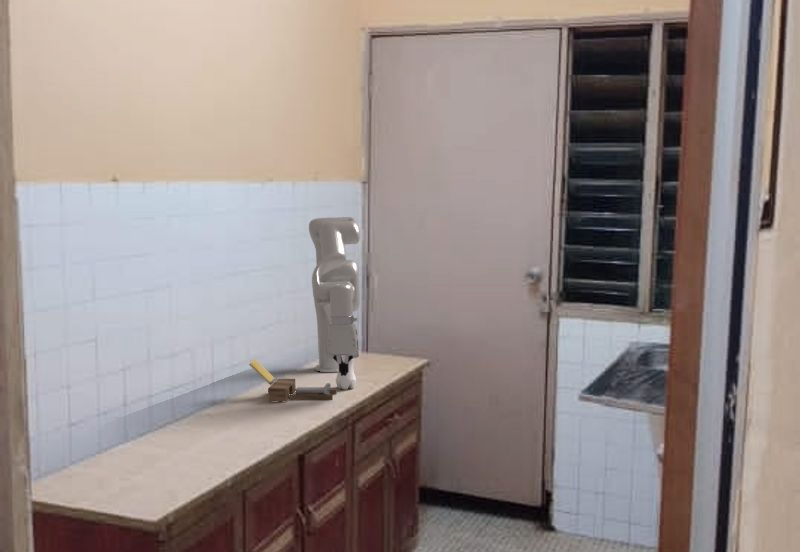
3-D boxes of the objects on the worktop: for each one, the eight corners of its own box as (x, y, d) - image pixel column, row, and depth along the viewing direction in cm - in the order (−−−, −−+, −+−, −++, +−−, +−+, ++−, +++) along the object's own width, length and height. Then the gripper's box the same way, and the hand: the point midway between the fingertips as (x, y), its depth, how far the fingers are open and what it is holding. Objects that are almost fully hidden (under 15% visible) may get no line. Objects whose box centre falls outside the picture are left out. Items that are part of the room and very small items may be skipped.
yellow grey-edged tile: (254, 360, 294) (255, 358, 294) (275, 381, 294) (277, 379, 294) (248, 364, 288) (250, 362, 288) (270, 385, 288) (272, 383, 288)
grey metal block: (294, 399, 288) (294, 387, 287) (298, 394, 294) (298, 383, 293) (327, 399, 287) (327, 387, 286) (330, 394, 292) (330, 383, 292)
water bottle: (357, 385, 304) (355, 316, 301) (354, 390, 297) (352, 319, 294) (338, 385, 305) (335, 316, 302) (334, 390, 298) (331, 319, 295)
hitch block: (278, 391, 298) (278, 378, 298) (338, 391, 296) (337, 378, 296) (268, 402, 285) (267, 388, 284) (330, 402, 282) (330, 388, 282)
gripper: (365, 319, 289) (367, 372, 290) (322, 319, 290) (324, 373, 292) (362, 322, 281) (364, 377, 283) (317, 323, 283) (319, 377, 285)
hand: (344, 374), depth 287 cm, fingers closed
